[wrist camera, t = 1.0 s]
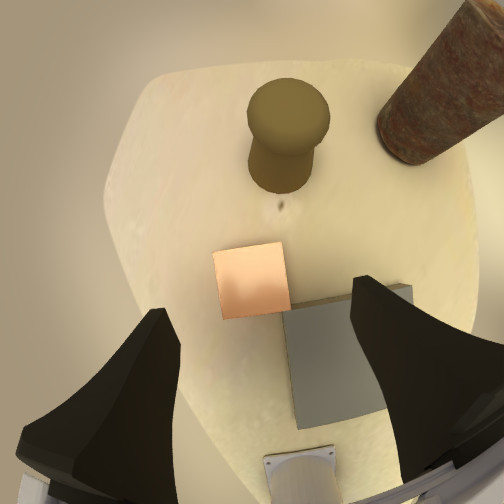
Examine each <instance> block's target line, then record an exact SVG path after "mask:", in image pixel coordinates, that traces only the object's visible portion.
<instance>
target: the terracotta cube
mask: <svg viewBox="0 0 504 504" xmlns="http://www.w3.org/2000/svg"><path fill="white" fill-rule="evenodd" d="M213 258H214V265H215V271H216V278H217V284H218V291H219V297H220V303H221V309H222V315H223V320H224V319H232V318H240V317H247V316H255V315H262V314H269V313H275V312H282V311H288V310H291V305H290V297H289V290H288V283H287V276H286V269H285V263H284V256H283V249H282V243H281V242H275V243H268V244H262V245H255V246H249V247H242V248H236V249H229V250H223V251H216V252H213Z"/></svg>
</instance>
